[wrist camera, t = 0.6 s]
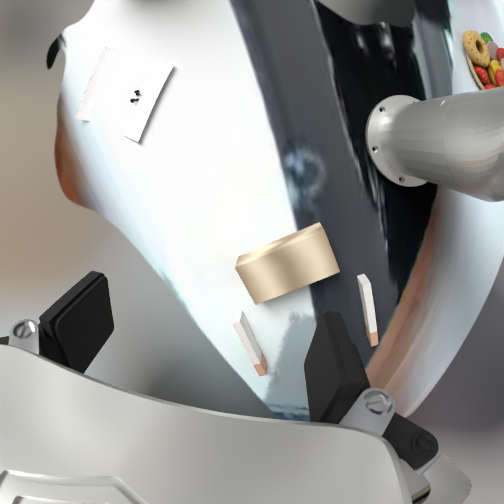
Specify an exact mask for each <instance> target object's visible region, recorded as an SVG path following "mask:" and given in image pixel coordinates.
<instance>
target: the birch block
mask: <svg viewBox="0 0 504 504" xmlns="http://www.w3.org/2000/svg"><path fill="white" fill-rule="evenodd" d="M235 268H236V270H237V272H238V274H239V276H240V278H241V279H242V281H243V283H244V285H245V287H246V288H247V290H248V292H249V294H250V296H251V297H252V299H253V301H254V303H255V305H256V304H259V303H262V302H264V301H267V300H270V299H273V298H275V297H278V296H280V295H283V294H286V293H288V292H291V291H293V290H296V289H299V288H301V287H304V286H306V285H309V284H311V283H314V282H316V281H319V280H321V279H324V278H326V277H329V276H331V275H333V274H336V273H338V272H340V270H339V268H338V265H337V262H336V259H335V257H334V254H333V251H332V249H331V246H330V244H329V241H328V238H327V236H326V233H325V231H324V229H323V227H322V226H321V224H320V222H319V223H317V224H314V225H312V226H310V227H307V228H305V229H302V230H300V231H298V232H295V233H293V234H291V235H288V236H286V237H284V238H281V239H279V240H277V241H274V242H272V243H269V244H267V245H265V246H262V247H260V248H258V249H255V250H253V251H251V252H248V253H246V254H244V255H241V256H239V257H238V260H237V263H236V267H235Z"/></svg>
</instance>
